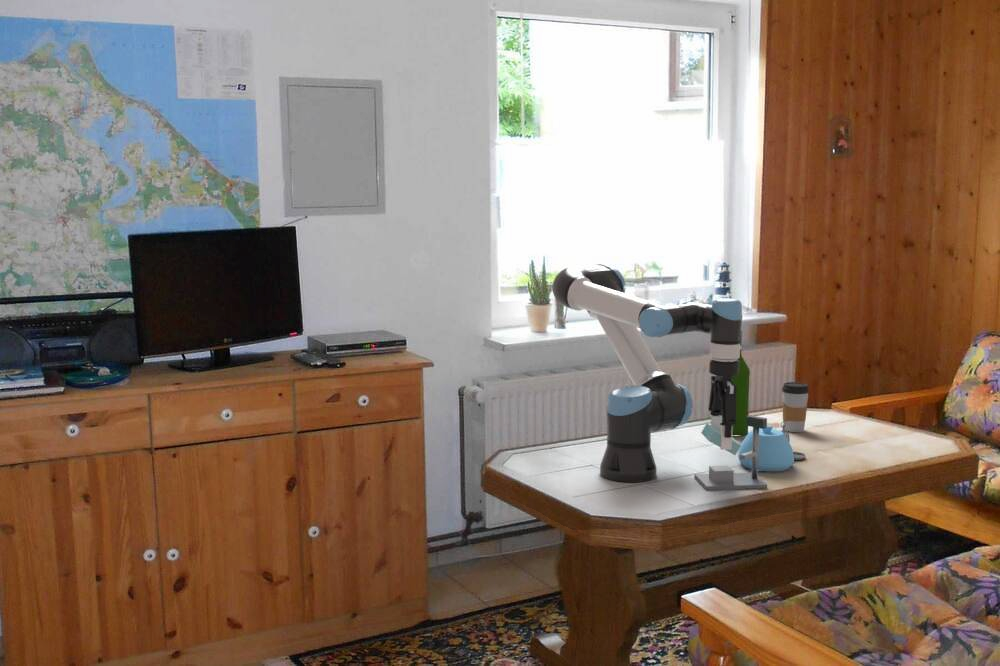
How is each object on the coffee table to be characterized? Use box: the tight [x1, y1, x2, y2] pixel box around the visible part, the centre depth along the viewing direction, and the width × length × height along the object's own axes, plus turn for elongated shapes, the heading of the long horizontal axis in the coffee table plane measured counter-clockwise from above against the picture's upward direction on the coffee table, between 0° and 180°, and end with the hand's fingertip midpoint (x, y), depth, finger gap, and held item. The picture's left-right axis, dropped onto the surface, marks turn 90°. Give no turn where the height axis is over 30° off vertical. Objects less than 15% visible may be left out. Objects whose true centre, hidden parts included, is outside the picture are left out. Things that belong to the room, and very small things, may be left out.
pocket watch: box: [780, 421, 807, 461], centre depth 281 cm, size 8×8×10 cm
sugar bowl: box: [737, 424, 795, 472], centre depth 273 cm, size 15×15×12 cm
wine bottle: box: [719, 330, 751, 436], centre depth 308 cm, size 9×9×32 cm
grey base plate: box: [694, 465, 768, 491], centre depth 257 cm, size 16×11×4 cm
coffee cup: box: [781, 381, 810, 433], centre depth 312 cm, size 8×8×15 cm
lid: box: [700, 422, 741, 456], centre depth 256 cm, size 8×8×3 cm
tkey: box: [740, 414, 768, 479], centre depth 255 cm, size 7×5×16 cm
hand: (720, 444), depth 256 cm, fingers closed on lid, 8 cm apart
